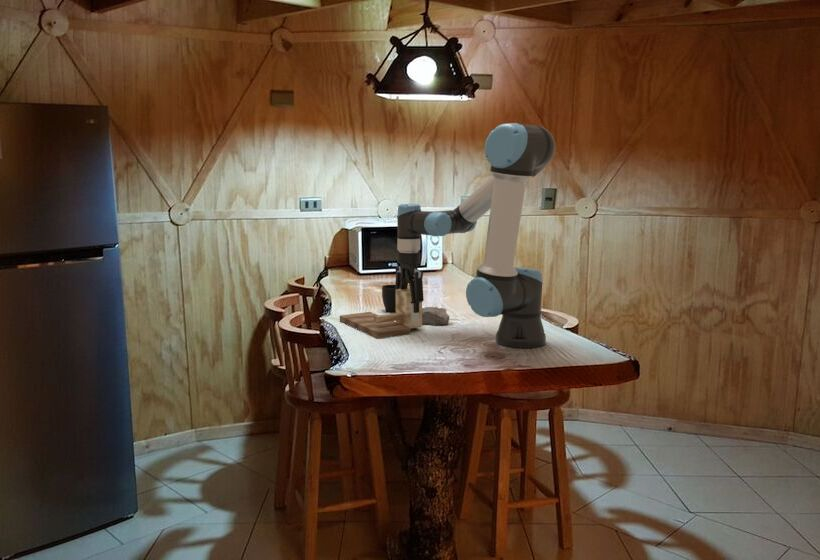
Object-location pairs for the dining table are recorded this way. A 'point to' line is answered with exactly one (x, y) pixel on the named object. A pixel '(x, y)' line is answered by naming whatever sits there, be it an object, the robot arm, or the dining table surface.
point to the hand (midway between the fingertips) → (408, 319)
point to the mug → (389, 298)
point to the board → (374, 325)
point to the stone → (434, 316)
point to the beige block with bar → (402, 310)
